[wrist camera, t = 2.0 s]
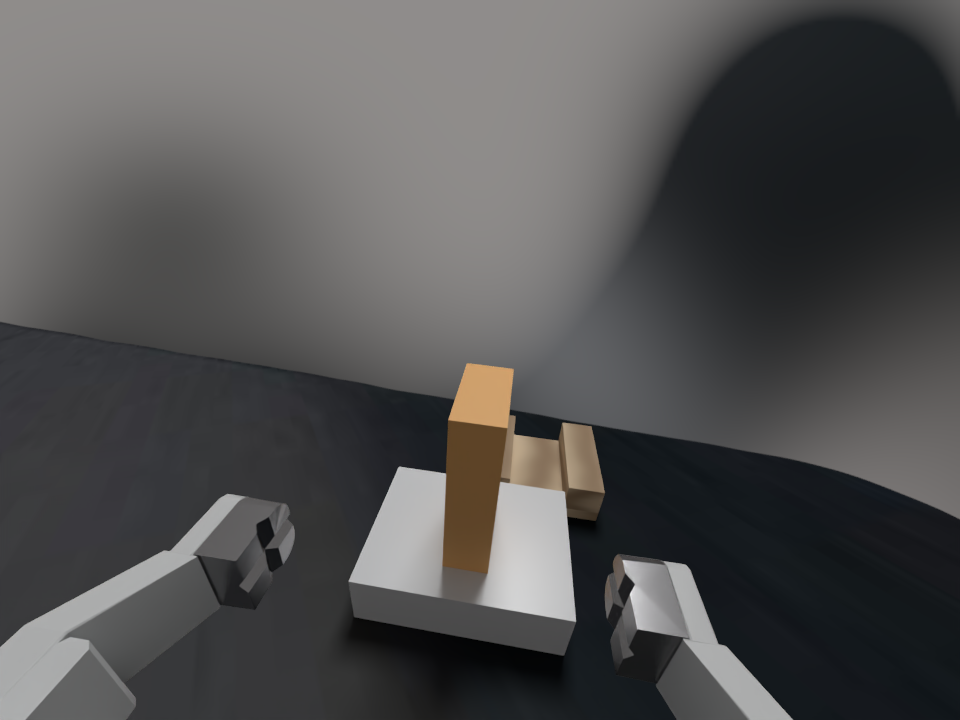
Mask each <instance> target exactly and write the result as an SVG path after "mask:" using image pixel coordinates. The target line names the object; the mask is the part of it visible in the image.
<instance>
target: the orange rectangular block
mask: <svg viewBox="0 0 960 720" xmlns="http://www.w3.org/2000/svg"><path fill="white" fill-rule="evenodd" d="M513 371H514V370H513V369H509V368H500V367H493V366H485V365H478V364H470V363H467V365H466V368H465V371H464V374H463V377H462V381H461V383H460V386H459V389H458V393H457V395H456V398H455V401H454V404H453V407H452V410H451V414H450V417H449V420H448V441H447V466H446V490H445V514H444V539H443V563H442V566H445V567H450V568H456V569H462V570H468V571H474V572H480V573H486V574H488V568H489V561H490V553H491V546H492V539H493V531H494V524H495V517H496V509H497V502H498V495H499V487H500V480H501V473H502V465H503V458H504V451H505V443H506V436H507V428H508V419H509V409H510V399H511V390H512V381H513Z"/></svg>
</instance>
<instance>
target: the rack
mask: <svg viewBox="0 0 960 720" xmlns="http://www.w3.org/2000/svg"><path fill="white" fill-rule="evenodd" d="M514 427H515V416H510V415H509V419H508V428H507V436H506V443H505V451H504V458H503V465H502V473H501V480H500V482H504V483H510V484H517V485H524V486H530V487H537V488H544V489H550V490H557V491H564V492H565V499H566V511H567V517H574V518H580V519H587V520H593V521H596V519H597V516H598V513H599V509H600V506H601V503H602V500H603V497H604V494H605V491H604V486H603V482H602V477H601V472H600V467H599V462H598V457H597V452H596V447H595V442H594V437H593V432H592V427H591V426H583V425H576V424H569V423H562V428H561V432H560V437H559V441H555V440H548V439H541V438H534V437H527V436H520V435H514Z"/></svg>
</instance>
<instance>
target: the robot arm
mask: <svg viewBox="0 0 960 720" xmlns="http://www.w3.org/2000/svg"><path fill="white" fill-rule="evenodd" d="M289 514H290V511H289V508H288V505H287V504H283V503H278V502H272V501H266V500H260V499H255V498H249V497H244V496H237V495H231V494H227V495H225V496H223V497H221V498H220V499H219V500H218V501H217V502H216V503H215V504H214V505H213V506H212V507H211V508H210V509H209V510H208V511H207V512H206V514H205V515H204V516H203V517H202V518H201V519H200V520H199V521H198V522H197V523H196V524H195V525H194V526H193V527H192V528H191V530H190V531H189V532H188V533H187V534H186V535H185V536H184V537H183V538H182V539H181V540H180V541H179V542H178V543H177V545H176V546H175V547H174V548H173V549H172V550H171V551H163V552H161V553H159V554H157V555H155V556H153V557H151V558H149V559H148V560H146V561H144V562H142V563H140V564H138V565H136V566H134V567H133V568H131V569H129V570H127V571H125V572H123V573H121V574H119V575H118V576H116V577H114V578H112V579H110V580H108V581H106V582H104V583H103V584H101V585H99V586H97V587H95V588H93V589H91V590H89V591H88V592H86V593H84V594H82V595H80V596H78V597H76V598H75V599H73V600H71V601H69V602H67V603H65V604H63V605H61V606H60V607H58V608H56V609H54V610H52V611H50V612H48V613H46V614H45V615H43V616H41V617H39V618H37V619H35V620H33V621H31V622H30V623H28V624H26V625H24V626H23V627H22V628H21V629H20V630H19V631H18V632H16V633H15V634H14V635H13V636H12V637H11V638H10V639H9V640H8V641H7V642H6V643H4V644H3V645H2V646H1V647H0V720H126V719H127V718H128V716H129V715H130V714H131V712H132V711H133V709H134V708H135V707H136V698H135V697H134V695H133V694H132V693H131V692H130V690H129V689H128V688H127V687H126V686H125V684H124V683H125V682H126V681H127V680H129V679H130V678H131V677H133V676H134V675H135V674H136V673H138V672H139V671H140V670H141V669H143V668H144V667H145V666H146V665H148V664H149V663H150V662H152V661H153V660H154V659H155V658H157V657H158V656H159V655H160V654H162V653H163V652H164V651H165V650H167V649H168V648H169V647H171V646H172V645H173V644H174V643H176V642H177V641H178V640H179V639H181V638H182V637H183V636H184V635H186V634H187V633H188V632H190V631H191V630H192V629H193V628H195V627H196V626H197V625H198V624H200V623H201V622H202V621H203V620H205V619H206V618H207V617H209V616H210V615H211V614H212V613H214V612H215V611H216V610H217V609H219V608H220V605H226V606H232V607H239V608H246V609H253V610H255V609H256V607H257V606H258V604H259V603H260V601H261V599H262V598H263V596H264V595H265V593H266V591H267V590H268V588H269V587H270V585H271V583H272V572H273V571H274V570H276V569H277V568H279V567H280V566H282V565H283V564H284V562H285V561H286V559H287V557H288V556H289V554H290V552H291V549H292V546H293V543H294V536H295V531H294V527H293V525H292V524H291V523H290V522H289V521H288V520H287V517H288V516H289ZM613 567H614V573H612V574H610V575H609V576H608V579H607V582H606V588H605V607H606V614H607V619H608V621H609V622H610V623H611V625H612V626H613V628H614V629H615V630H614V633H613V635H612V638H611V640H610V641H611V647H612V653H613V660H614V666H615V672H616V675H619V676H624V677H628V678H633V679H638V680H643V681H647V682H652V683H657V685H656V687H657V688H658V690H659V691H660V693H661V695H662V696H663V698H664V699H665V701H666V703H667V704H668V706H669V708H670V709H671V711H672V712H673V714H674V716H675V717H676V719H677V720H793V719H792V718H791V717H790V716H789V715H788V714H787V713H786V712H785V711H784V710H783V708H782V707H781V706H780V705H779V704H778V703H777V702H776V701H775V700H774V698H773V697H772V696H771V695H770V694H769V693H768V692H767V691H766V690H765V689H764V687H763V686H762V685H761V684H760V683H759V682H758V681H757V680H756V679H755V678H754V676H753V675H752V674H751V673H750V672H749V671H748V670H747V669H746V668H745V667H744V665H743V664H742V663H741V662H740V661H739V660H738V659H737V658H736V657H735V655H734V654H733V653H732V652H731V651H730V650H729V649H728V648H727V647H726V646H723V645H719V644H718V642H717V639H716V637H715V634H714V631H713V629H712V626H711V624H710V621H709V618H708V616H707V613H706V610H705V608H704V605H703V603H702V600H701V597H700V595H699V592H698V589H697V587H696V584H695V581H694V579H693V576H692V574H691V571H690V569H689V568H688V567H687V566H686V565H684V564H680V563H672V562H665V561H661V560H656V559H649V558H641V557H634V556H627V555H620V554H618V555H617V556H616V557H615V559H614V562H613Z"/></svg>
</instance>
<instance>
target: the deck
mask: <svg viewBox="0 0 960 720" xmlns="http://www.w3.org/2000/svg"><path fill="white" fill-rule="evenodd" d="M445 490H446V474H444V473H438V472H431V471H424V470H418V469H411V468H404V467H399V468H398V470H397V472H396V475H395V477H394V479H393V481H392V484H391V486H390V488H389V491H388V493H387V495H386V497H385V500H384V502H383V504H382V507H381V509H380V511H379V513H378V516H377V518H376V520H375V522H374V525H373V527H372V529H371V532H370V534H369V536H368V538H367V541H366V543H365V545H364V548H363V550H362V552H361V554H360V557H359V559H358V561H357V564H356V566H355V568H354V570H353V573H352V575H351V577H350V579H349V588H350V594H351V601H352V607H353V613H354V617H356V618H362V619H367V620H373V621H378V622H383V623H389V624H394V625H400V626H405V627H411V628H416V629H421V630H427V631H432V632H438V633H443V634H449V635H454V636H459V637H465V638H470V639H476V640H481V641H487V642H492V643H498V644H503V645H508V646H514V647H519V648H525V649H530V650H536V651H541V652H546V653H552V654H557V655H563V656H564V654H565V651H566V649H567V646H568V643H569V640H570V637H571V634H572V632H573V629H574V626H575V623H576V616H575V604H574V593H573V581H572V569H571V558H570V546H569V534H568V522H567V511H566V499H565V492H564V491H557V490H550V489H544V488H537V487H530V486H524V485H517V484H510V483H504V482H500V487H499V495H498V502H497V509H496V517H495V524H494V531H493V539H492V546H491V553H490V561H489V568H488V574H486V573H480V572H474V571H468V570H462V569H456V568H450V567H445V566H442V563H443V539H444V514H445Z"/></svg>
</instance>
